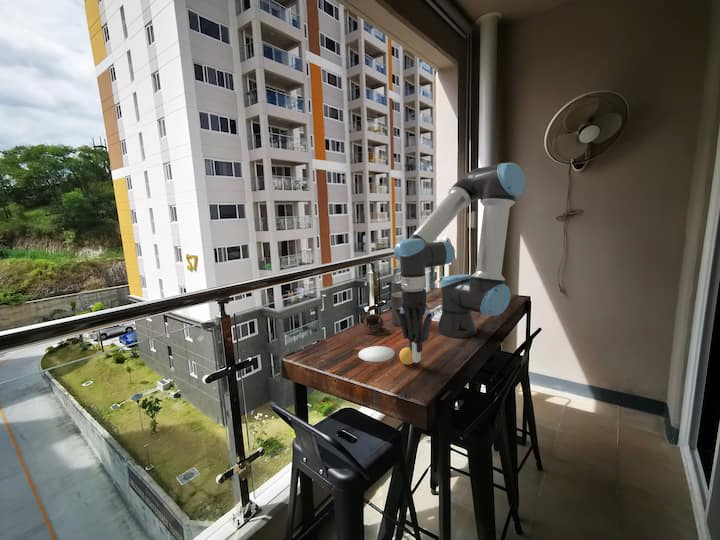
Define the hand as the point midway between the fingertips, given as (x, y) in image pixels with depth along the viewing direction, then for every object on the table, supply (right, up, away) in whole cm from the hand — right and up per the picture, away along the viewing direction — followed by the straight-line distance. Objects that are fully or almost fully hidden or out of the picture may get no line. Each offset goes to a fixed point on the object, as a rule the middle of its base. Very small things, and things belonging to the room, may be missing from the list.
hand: (416, 360), depth 105 cm
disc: (-12, -1, +12) cm, 17 cm away
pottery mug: (-13, +3, +37) cm, 39 cm away
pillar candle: (+1, +5, +42) cm, 43 cm away
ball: (-3, +1, +2) cm, 3 cm away
